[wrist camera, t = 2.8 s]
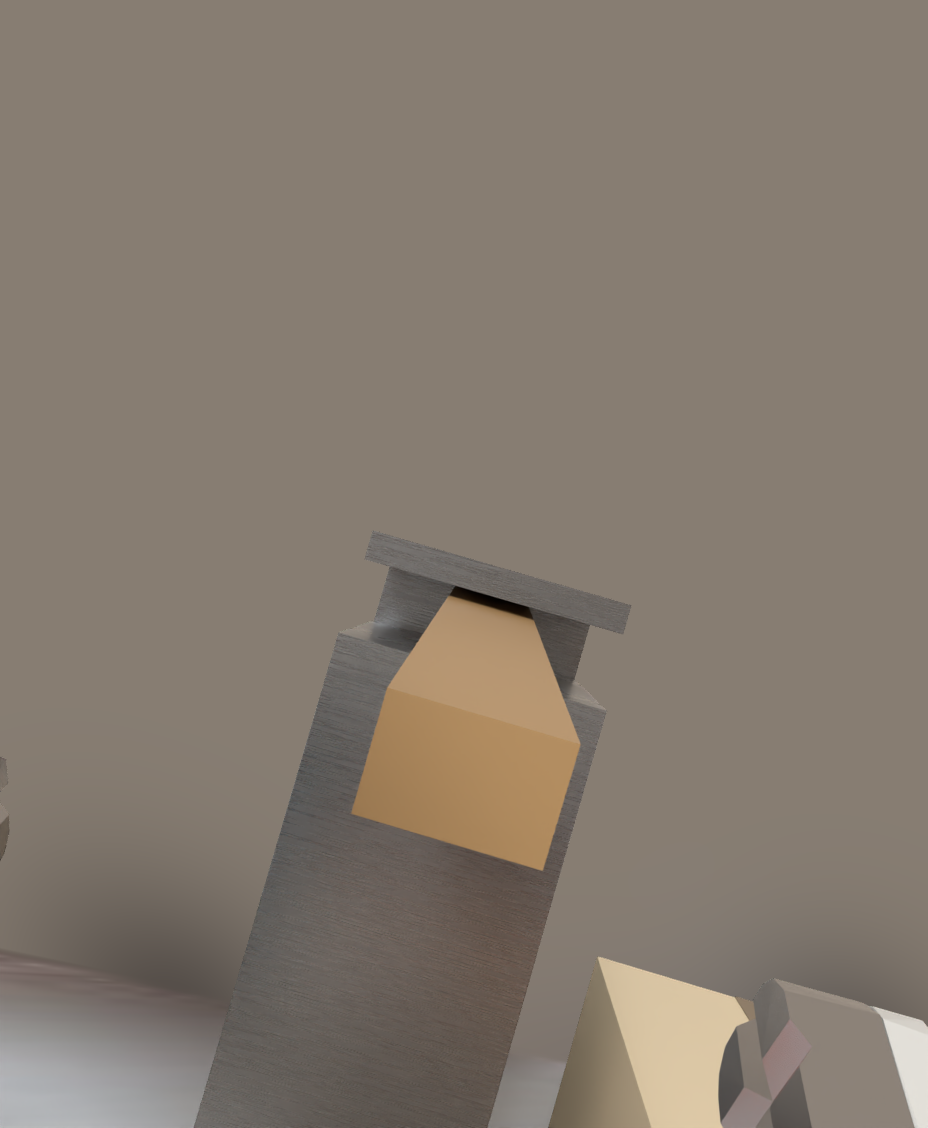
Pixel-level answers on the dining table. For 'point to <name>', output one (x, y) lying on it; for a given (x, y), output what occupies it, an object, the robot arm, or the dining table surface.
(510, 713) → the brown wooden bar
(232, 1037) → the dispenser stand
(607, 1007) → the carton
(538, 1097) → the dining table surface
